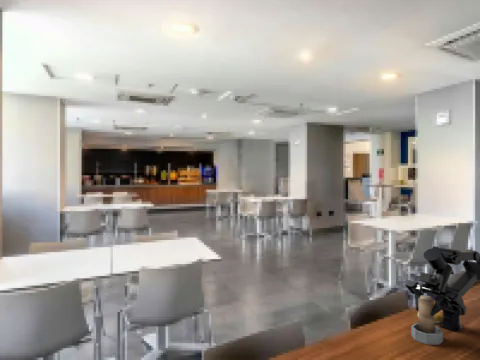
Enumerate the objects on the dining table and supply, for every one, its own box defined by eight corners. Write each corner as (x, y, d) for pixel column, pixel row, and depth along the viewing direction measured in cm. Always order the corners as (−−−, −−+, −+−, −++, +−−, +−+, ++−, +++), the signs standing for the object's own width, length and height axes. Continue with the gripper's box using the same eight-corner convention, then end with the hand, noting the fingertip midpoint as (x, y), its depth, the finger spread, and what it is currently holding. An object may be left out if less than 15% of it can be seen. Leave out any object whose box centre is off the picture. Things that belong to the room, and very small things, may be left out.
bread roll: (439, 326, 129) (439, 316, 130) (415, 319, 136) (415, 309, 136) (446, 320, 135) (446, 310, 135) (423, 314, 142) (423, 304, 142)
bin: (419, 330, 126) (419, 321, 126) (446, 339, 118) (446, 329, 118) (407, 337, 120) (407, 328, 120) (435, 347, 112) (435, 337, 113)
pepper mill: (424, 325, 123) (422, 293, 123) (437, 330, 118) (436, 297, 118) (416, 329, 120) (415, 296, 120) (430, 334, 116) (429, 300, 116)
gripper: (406, 259, 129) (390, 292, 124) (458, 269, 113) (442, 308, 108) (419, 276, 133) (403, 309, 128) (470, 287, 117) (455, 326, 112)
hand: (424, 312), depth 119 cm, fingers closed on pepper mill, 5 cm apart
